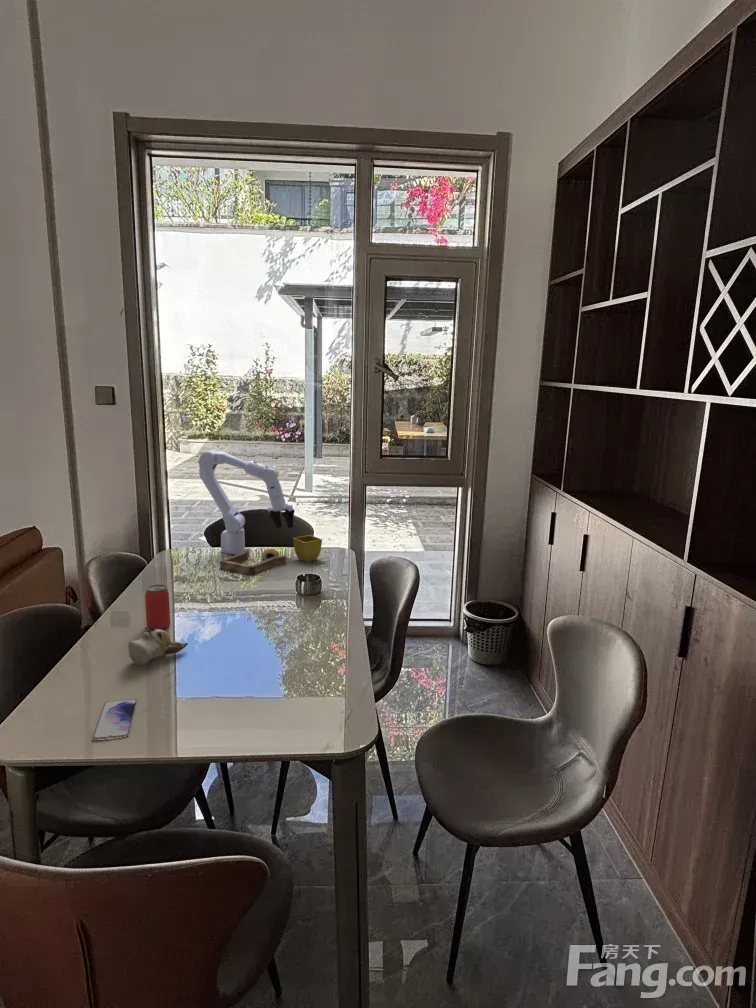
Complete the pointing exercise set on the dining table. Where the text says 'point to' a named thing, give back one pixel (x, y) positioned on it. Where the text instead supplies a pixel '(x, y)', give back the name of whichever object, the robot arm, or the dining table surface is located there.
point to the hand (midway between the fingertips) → (285, 527)
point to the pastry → (269, 554)
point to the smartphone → (115, 719)
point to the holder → (235, 565)
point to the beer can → (157, 607)
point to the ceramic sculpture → (152, 646)
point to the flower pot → (307, 547)
